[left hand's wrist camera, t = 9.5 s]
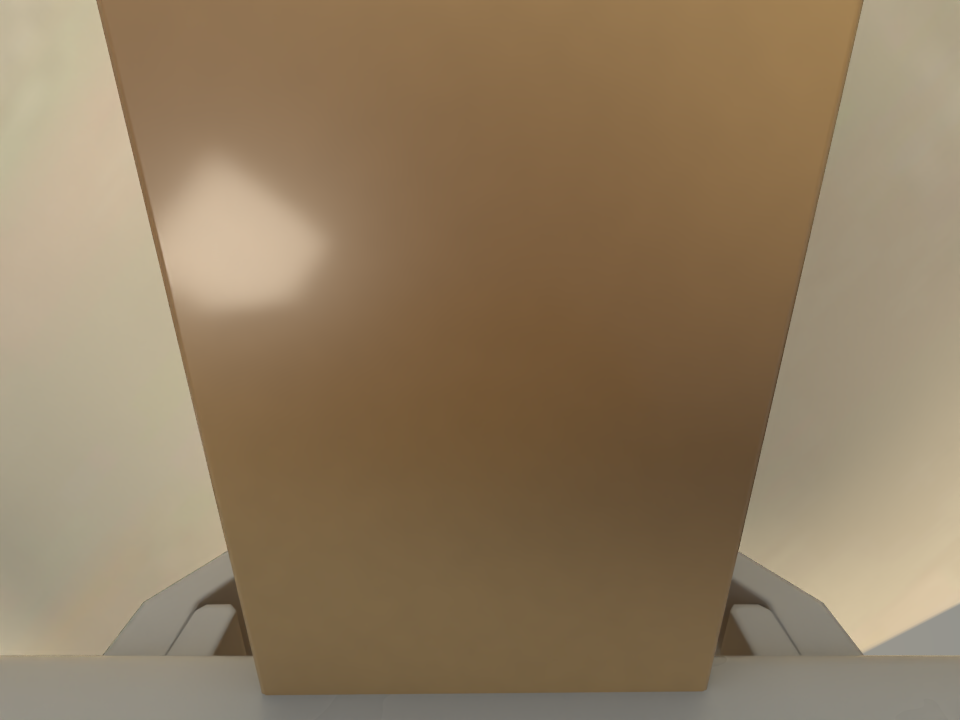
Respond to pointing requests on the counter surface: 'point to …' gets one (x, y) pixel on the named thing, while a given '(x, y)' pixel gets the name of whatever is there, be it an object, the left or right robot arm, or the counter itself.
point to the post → (481, 315)
